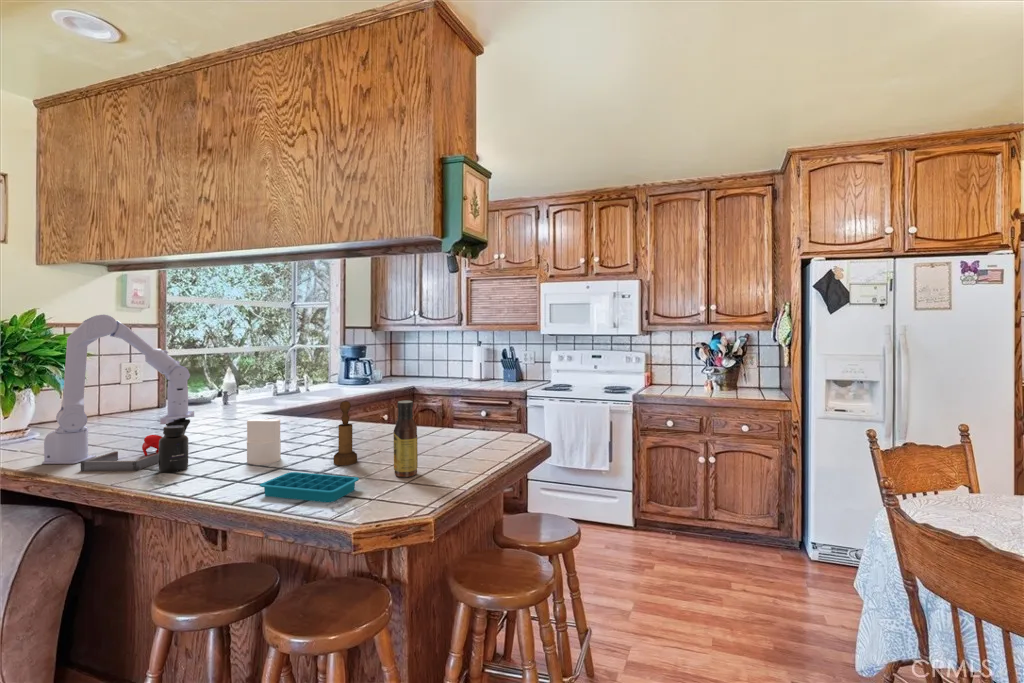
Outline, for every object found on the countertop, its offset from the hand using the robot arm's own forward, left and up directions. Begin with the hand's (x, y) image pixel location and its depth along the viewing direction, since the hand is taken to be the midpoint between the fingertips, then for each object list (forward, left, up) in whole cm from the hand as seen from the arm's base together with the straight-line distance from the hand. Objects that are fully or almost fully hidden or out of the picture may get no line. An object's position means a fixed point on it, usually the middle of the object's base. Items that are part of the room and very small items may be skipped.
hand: (178, 441), depth 166 cm
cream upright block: (+37, -19, -2) cm, 41 cm away
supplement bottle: (+17, -29, -2) cm, 33 cm away
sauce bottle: (+82, -35, -2) cm, 89 cm away
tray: (0, -23, -1) cm, 23 cm away
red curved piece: (0, -11, -2) cm, 11 cm away
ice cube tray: (+62, -49, -2) cm, 79 cm away
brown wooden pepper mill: (+62, -22, -2) cm, 66 cm away
